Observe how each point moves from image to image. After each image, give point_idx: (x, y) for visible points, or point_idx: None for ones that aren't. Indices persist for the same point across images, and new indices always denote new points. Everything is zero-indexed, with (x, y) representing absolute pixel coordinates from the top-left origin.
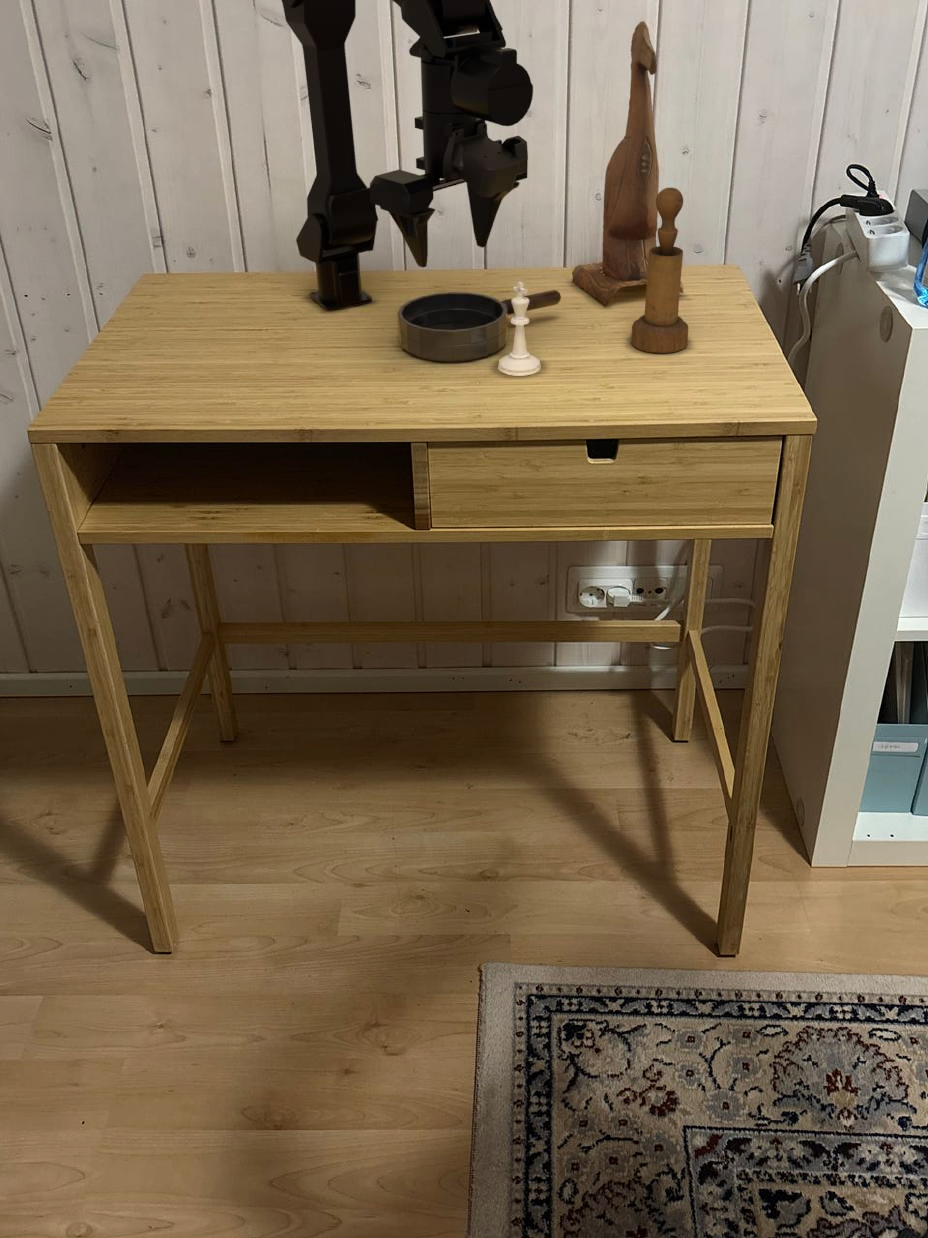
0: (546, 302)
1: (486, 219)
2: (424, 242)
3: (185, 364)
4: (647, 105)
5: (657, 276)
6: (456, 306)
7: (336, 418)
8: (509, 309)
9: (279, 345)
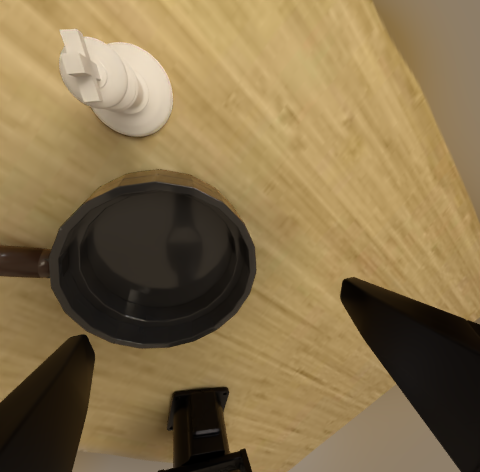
0: None
1: (14, 452)
2: (435, 318)
3: None
4: None
5: None
6: (114, 319)
7: (422, 147)
8: (39, 250)
9: (315, 338)
